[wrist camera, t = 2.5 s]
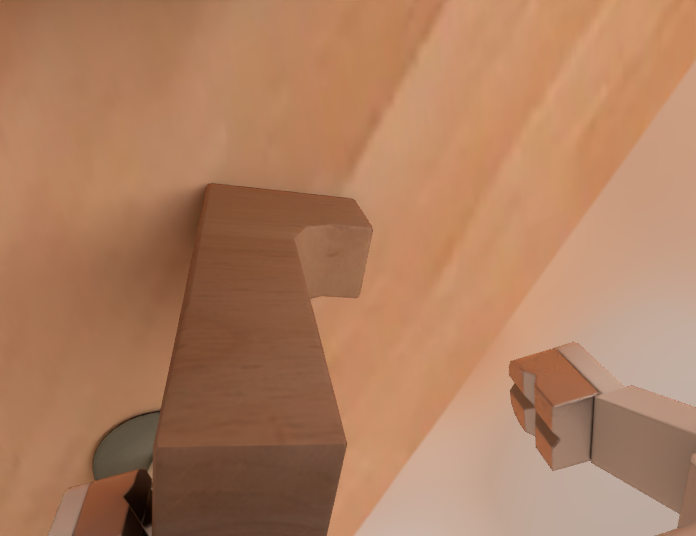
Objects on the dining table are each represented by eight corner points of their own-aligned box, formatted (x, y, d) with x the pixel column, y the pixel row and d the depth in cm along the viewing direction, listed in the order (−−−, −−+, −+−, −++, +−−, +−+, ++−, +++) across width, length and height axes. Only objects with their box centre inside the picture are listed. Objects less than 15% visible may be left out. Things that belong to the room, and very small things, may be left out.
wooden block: (202, 251, 22) (149, 580, 9) (206, 181, 21) (150, 447, 8) (343, 262, 24) (471, 555, 11) (355, 197, 23) (518, 440, 9)
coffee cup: (68, 544, 28) (36, 639, 24) (40, 375, 23) (-6, 456, 19) (277, 526, 31) (284, 607, 27) (292, 371, 26) (303, 440, 22)
